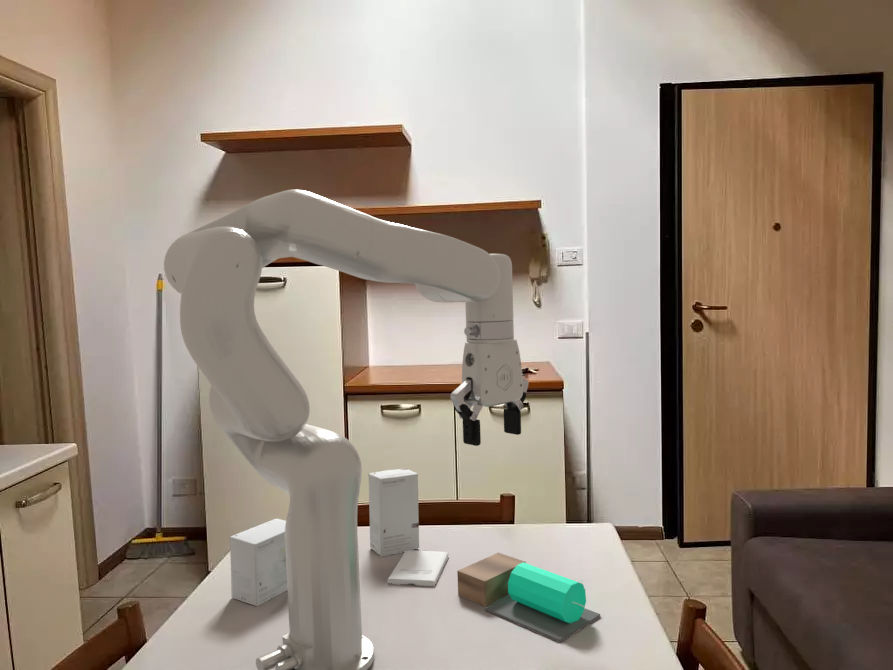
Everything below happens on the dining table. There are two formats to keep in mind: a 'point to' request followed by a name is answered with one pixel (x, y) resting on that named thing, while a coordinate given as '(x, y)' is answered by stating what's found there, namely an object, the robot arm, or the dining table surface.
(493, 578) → the step block
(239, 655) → the dining table surface
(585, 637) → the dining table surface
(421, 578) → the external hard drive
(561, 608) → the candle
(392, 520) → the skincare box
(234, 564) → the skincare box
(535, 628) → the mat
